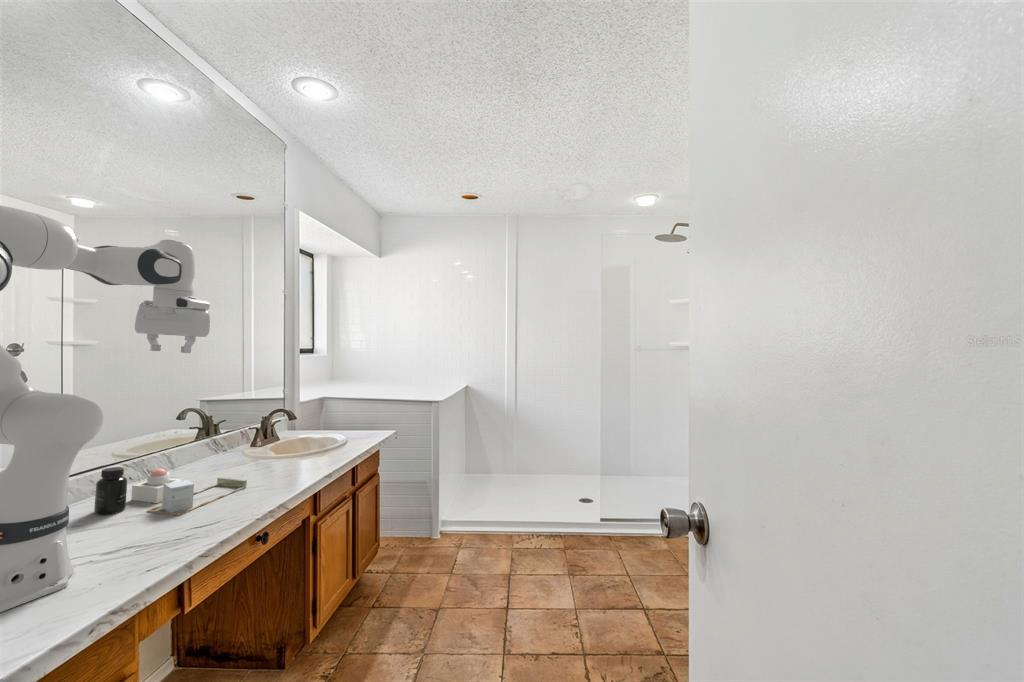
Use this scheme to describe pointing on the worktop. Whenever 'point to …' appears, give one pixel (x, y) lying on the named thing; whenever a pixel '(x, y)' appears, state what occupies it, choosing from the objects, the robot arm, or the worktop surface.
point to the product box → (178, 496)
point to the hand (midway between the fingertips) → (170, 352)
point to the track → (220, 481)
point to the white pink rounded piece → (158, 477)
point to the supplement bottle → (111, 491)
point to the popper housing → (148, 492)
